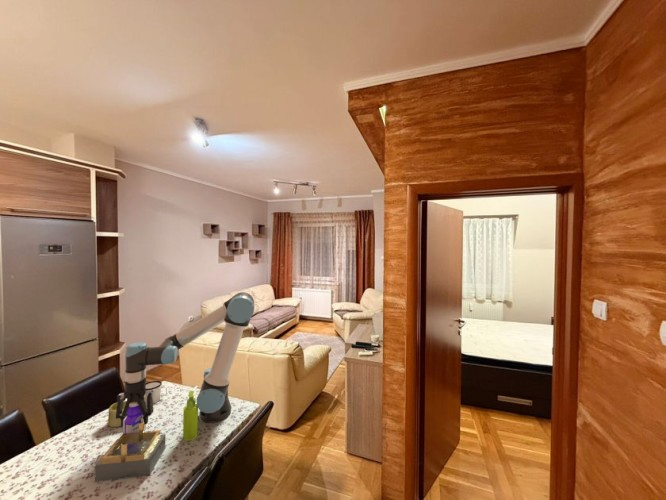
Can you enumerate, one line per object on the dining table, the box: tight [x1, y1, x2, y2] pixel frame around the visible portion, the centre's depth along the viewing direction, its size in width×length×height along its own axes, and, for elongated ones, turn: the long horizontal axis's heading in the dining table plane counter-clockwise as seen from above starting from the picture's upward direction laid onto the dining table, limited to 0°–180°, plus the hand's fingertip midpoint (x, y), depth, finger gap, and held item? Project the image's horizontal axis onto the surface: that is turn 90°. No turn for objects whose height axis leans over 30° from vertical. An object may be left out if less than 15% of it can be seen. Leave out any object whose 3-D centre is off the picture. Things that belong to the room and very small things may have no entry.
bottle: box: [125, 401, 143, 433], centre depth 121 cm, size 7×6×17 cm
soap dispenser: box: [182, 390, 199, 442], centre depth 124 cm, size 6×7×20 cm
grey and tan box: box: [94, 422, 167, 483], centre depth 108 cm, size 21×15×12 cm
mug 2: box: [144, 380, 168, 406], centre depth 153 cm, size 12×10×9 cm
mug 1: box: [107, 400, 127, 428], centre depth 133 cm, size 12×10×10 cm
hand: (134, 432), depth 121 cm, fingers closed on bottle, 6 cm apart
